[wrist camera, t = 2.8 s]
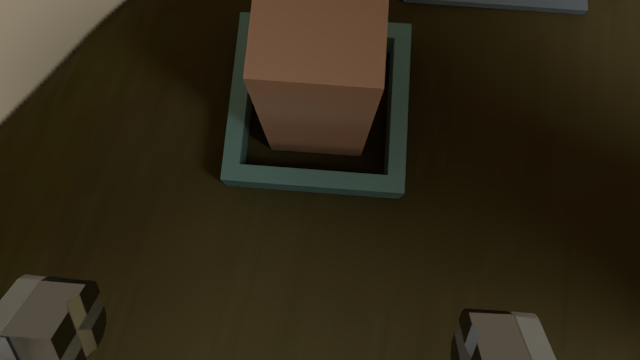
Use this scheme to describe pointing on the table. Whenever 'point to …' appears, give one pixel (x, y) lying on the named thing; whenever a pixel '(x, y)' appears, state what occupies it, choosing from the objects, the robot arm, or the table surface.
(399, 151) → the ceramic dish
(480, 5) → the rubber mat
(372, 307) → the table surface
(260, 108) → the brown tall block
